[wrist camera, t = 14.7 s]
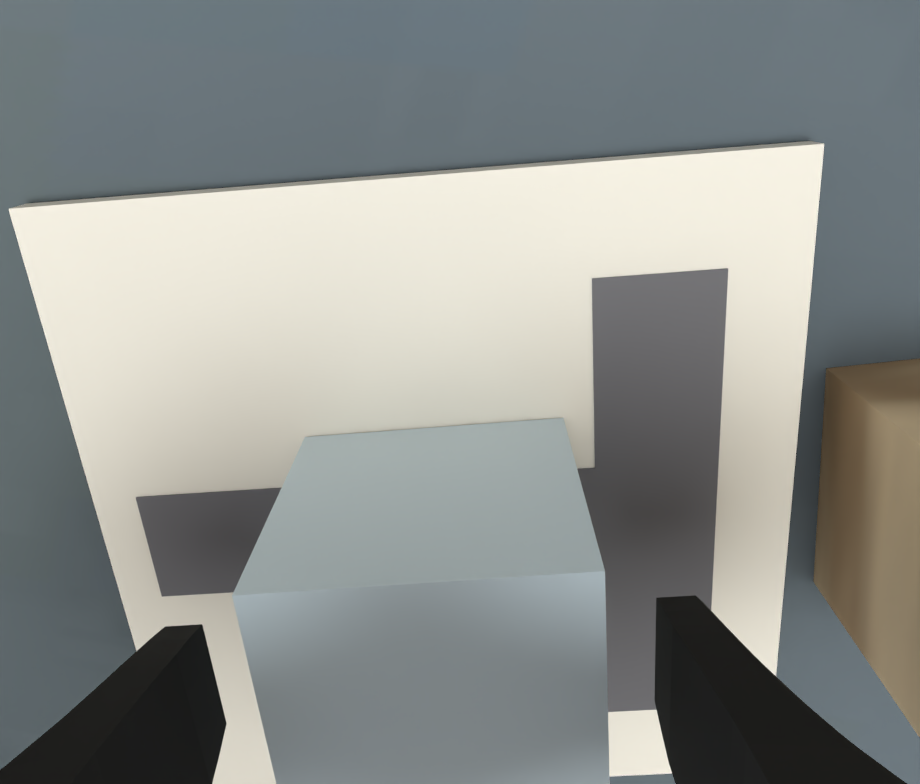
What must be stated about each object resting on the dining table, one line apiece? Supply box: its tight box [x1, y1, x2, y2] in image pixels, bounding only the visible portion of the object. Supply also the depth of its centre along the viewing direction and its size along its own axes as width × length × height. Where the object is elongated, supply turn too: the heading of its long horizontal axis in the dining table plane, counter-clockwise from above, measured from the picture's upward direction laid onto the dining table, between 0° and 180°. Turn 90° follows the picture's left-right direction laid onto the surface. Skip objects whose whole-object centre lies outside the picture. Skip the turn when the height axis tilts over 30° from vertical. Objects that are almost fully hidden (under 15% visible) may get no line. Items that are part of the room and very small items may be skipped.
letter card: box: [9, 141, 824, 784], centre depth 16 cm, size 14×14×1 cm
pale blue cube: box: [232, 418, 610, 784], centre depth 14 cm, size 5×5×5 cm
